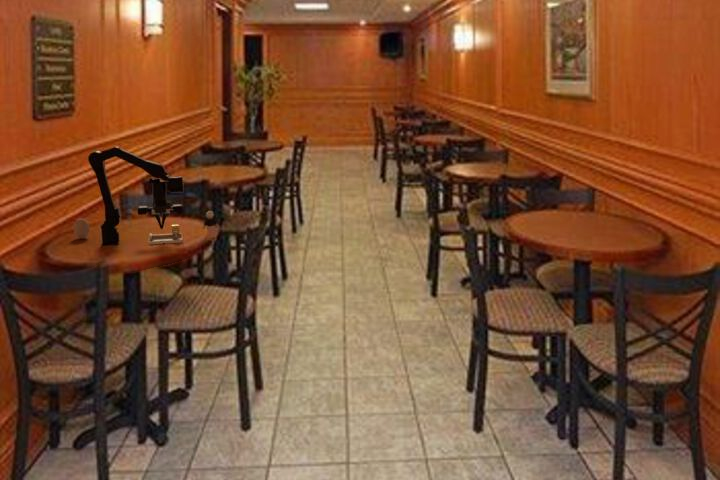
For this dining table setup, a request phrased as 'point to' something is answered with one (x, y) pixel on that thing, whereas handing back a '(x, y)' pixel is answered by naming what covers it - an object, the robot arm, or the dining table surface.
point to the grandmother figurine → (210, 226)
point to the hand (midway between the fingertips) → (161, 229)
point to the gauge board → (165, 238)
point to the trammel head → (175, 230)
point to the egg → (81, 228)
